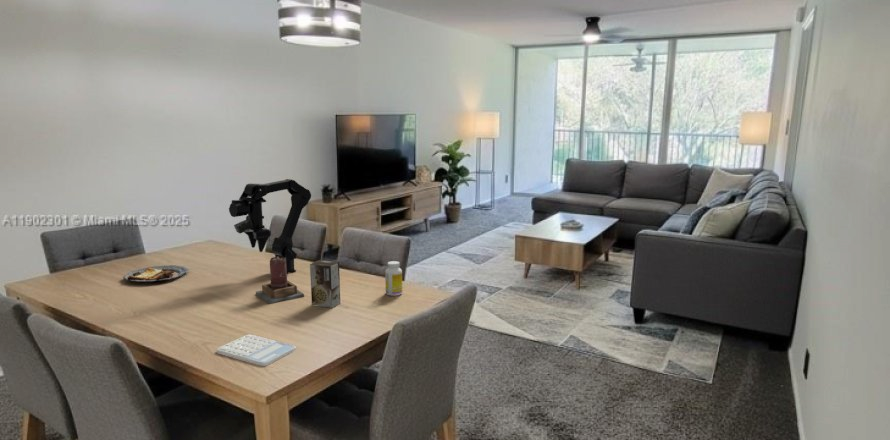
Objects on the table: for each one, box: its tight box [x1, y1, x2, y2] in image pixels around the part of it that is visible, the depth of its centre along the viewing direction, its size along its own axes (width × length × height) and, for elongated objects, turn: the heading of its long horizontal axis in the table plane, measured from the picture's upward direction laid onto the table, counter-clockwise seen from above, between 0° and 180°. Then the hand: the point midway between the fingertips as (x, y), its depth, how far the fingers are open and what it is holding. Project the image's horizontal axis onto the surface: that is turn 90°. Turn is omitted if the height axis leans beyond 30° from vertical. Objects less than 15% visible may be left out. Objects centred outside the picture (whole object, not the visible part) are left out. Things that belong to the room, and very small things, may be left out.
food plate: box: [122, 264, 190, 283], centre depth 233 cm, size 25×23×4 cm
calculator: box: [216, 333, 297, 367], centre depth 162 cm, size 13×20×2 cm, turn 63°
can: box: [269, 256, 288, 290], centre depth 210 cm, size 6×6×14 cm
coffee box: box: [309, 259, 341, 309], centre depth 201 cm, size 9×6×16 cm
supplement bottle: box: [384, 260, 403, 297], centre depth 214 cm, size 7×7×13 cm
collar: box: [255, 279, 305, 305], centre depth 211 cm, size 14×14×4 cm
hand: (257, 249), depth 230 cm, fingers open, 9 cm apart
